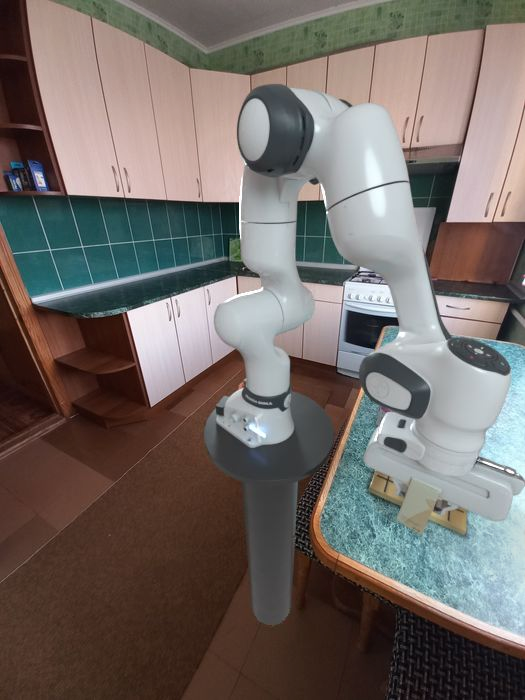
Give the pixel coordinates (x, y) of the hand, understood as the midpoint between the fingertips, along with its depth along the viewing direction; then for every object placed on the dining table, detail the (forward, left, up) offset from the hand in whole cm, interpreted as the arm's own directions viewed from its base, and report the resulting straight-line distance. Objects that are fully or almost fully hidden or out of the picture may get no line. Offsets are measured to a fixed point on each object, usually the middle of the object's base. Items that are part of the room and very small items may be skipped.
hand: (418, 502), depth 50 cm
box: (0, 0, -4) cm, 4 cm away
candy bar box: (-8, +33, -12) cm, 36 cm away
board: (0, +17, -11) cm, 20 cm away
